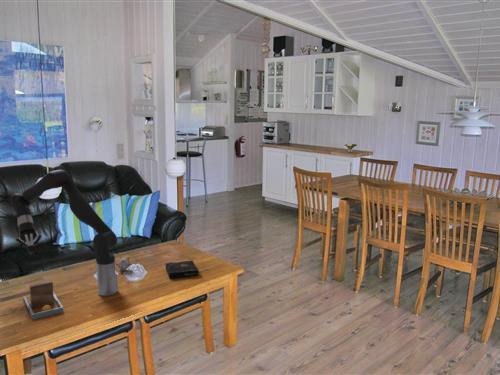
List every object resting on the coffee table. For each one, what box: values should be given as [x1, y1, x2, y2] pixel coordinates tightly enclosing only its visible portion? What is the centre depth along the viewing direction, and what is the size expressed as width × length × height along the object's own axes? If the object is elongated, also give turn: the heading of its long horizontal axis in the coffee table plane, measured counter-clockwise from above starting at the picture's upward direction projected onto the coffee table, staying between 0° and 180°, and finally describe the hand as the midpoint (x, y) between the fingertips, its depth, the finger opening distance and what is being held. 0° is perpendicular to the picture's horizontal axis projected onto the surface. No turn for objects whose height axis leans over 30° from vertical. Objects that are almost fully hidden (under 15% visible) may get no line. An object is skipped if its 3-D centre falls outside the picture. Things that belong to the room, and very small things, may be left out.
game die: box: [115, 256, 133, 271], centre depth 264 cm, size 9×8×10 cm
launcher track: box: [23, 290, 59, 312], centre depth 224 cm, size 16×14×2 cm
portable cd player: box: [165, 260, 199, 280], centre depth 264 cm, size 16×17×4 cm
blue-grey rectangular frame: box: [28, 298, 64, 321], centre depth 214 cm, size 11×14×2 cm
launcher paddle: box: [28, 280, 55, 309], centre depth 220 cm, size 3×10×11 cm, turn 125°
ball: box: [41, 304, 52, 312], centre depth 212 cm, size 4×4×4 cm
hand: (31, 253), depth 233 cm, fingers closed
